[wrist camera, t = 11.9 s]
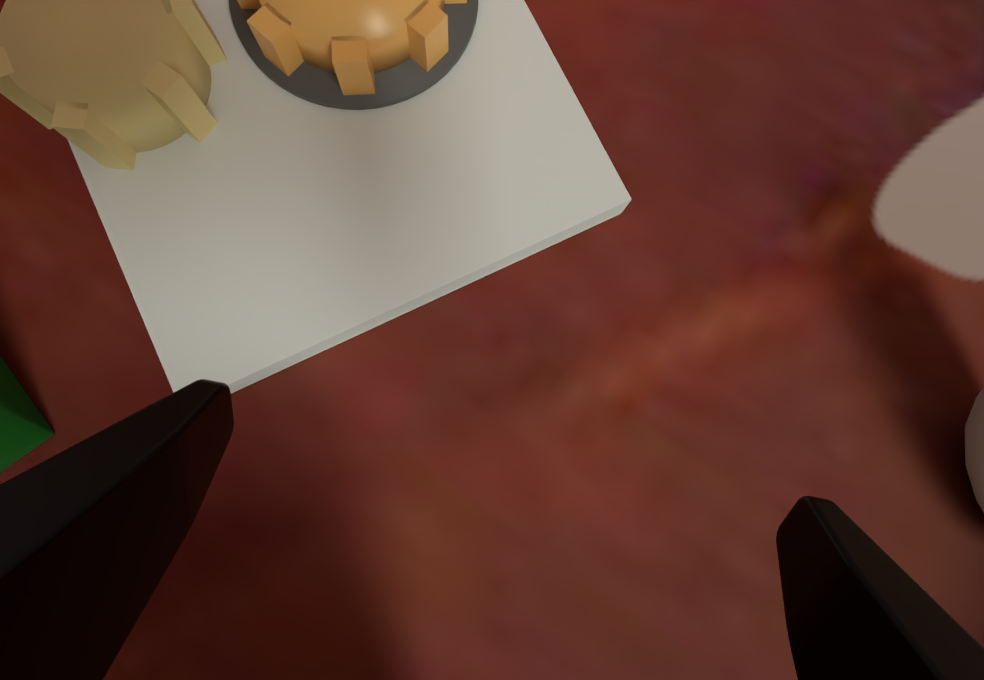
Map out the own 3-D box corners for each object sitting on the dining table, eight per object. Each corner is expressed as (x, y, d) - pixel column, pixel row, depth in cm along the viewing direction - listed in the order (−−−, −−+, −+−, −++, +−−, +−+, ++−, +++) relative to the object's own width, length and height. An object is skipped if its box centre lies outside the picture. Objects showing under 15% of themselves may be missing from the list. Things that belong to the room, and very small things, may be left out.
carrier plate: (186, 414, 22) (118, 408, 18) (17, 11, 24) (-81, -83, 20) (621, 213, 24) (656, 164, 20) (431, -141, 27) (426, -256, 22)
